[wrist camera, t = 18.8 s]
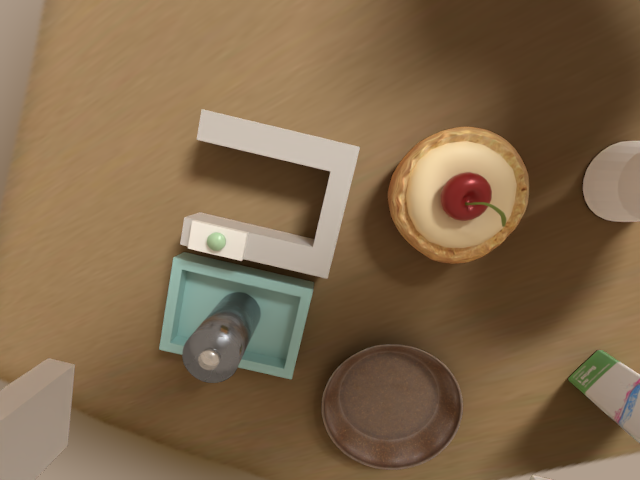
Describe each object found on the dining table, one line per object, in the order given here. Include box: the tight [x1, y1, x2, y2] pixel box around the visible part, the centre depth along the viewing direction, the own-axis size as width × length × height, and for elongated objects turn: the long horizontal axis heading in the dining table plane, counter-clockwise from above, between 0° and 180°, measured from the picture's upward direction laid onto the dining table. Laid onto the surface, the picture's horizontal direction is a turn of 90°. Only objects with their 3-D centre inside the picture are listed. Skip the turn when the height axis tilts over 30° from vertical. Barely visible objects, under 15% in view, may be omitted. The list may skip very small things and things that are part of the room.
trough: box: [159, 252, 314, 379], centre depth 37 cm, size 10×14×2 cm
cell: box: [182, 292, 261, 383], centre depth 32 cm, size 5×5×10 cm
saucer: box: [322, 344, 463, 470], centre depth 38 cm, size 15×15×3 cm
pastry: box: [388, 127, 529, 264], centre depth 31 cm, size 12×12×9 cm
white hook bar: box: [180, 109, 360, 279], centre depth 33 cm, size 12×14×5 cm
